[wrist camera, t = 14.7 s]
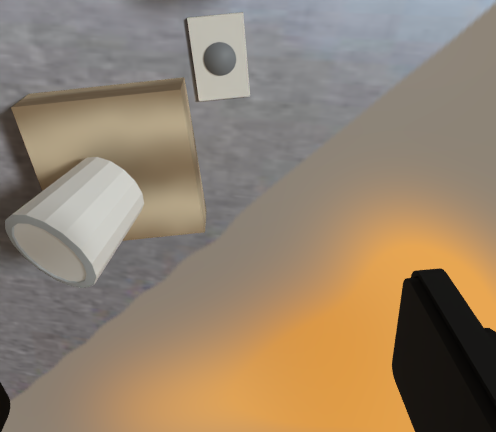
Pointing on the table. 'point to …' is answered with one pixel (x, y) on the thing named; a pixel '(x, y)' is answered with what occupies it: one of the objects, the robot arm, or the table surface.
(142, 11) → the table surface
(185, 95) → the maple block
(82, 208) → the light grey cup
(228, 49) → the push button plate
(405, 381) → the robot arm
